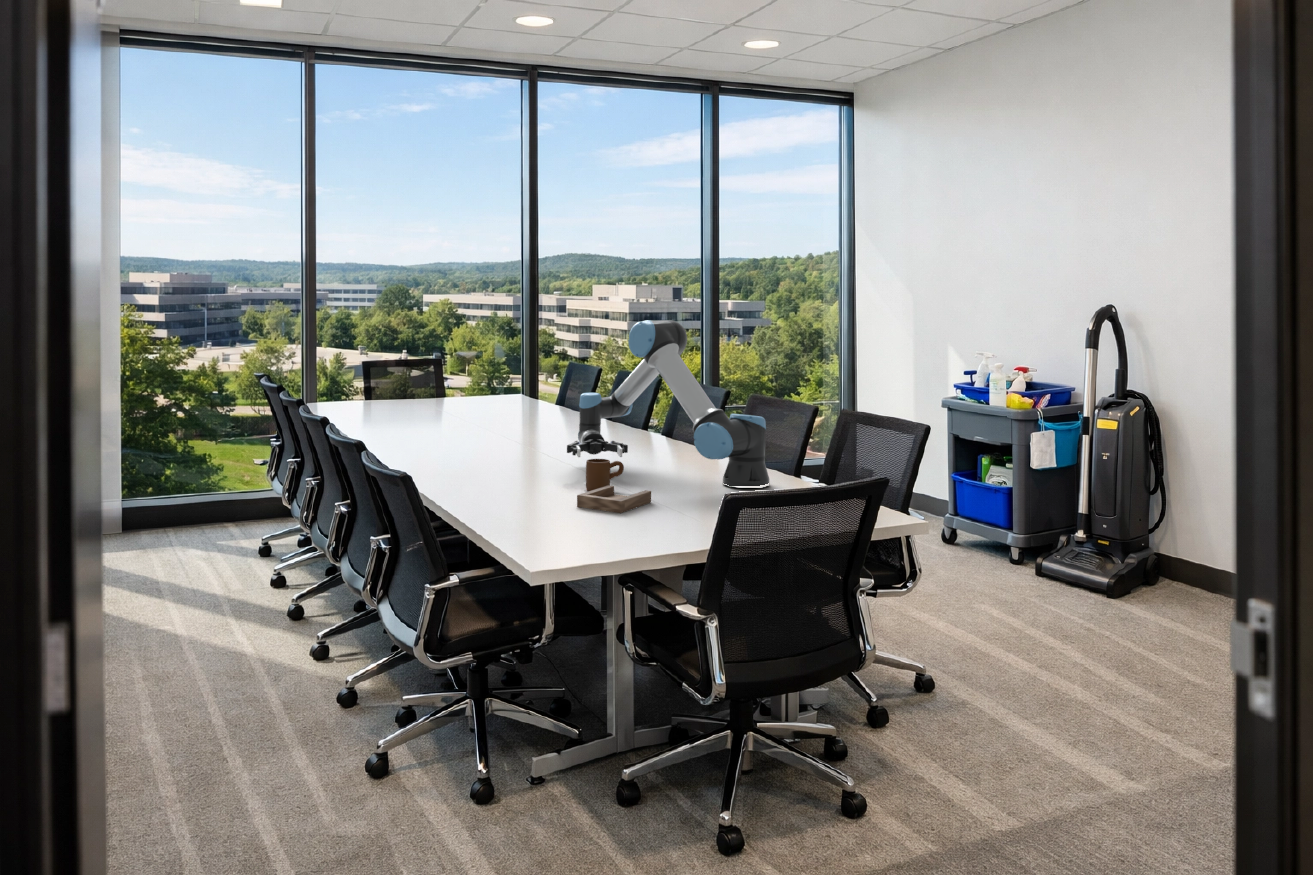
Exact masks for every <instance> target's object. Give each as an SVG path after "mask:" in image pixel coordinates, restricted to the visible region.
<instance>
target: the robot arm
mask: <svg viewBox="0 0 1313 875" xmlns="http://www.w3.org/2000/svg"><path fill="white" fill-rule="evenodd" d="M627 341H628V347H629V350H630V352H631V354H632V355H634V356H635V357H637V358H640V359H641V358H643V359H642V360H641V361H640V363H639V364H638V365H637V366H636V367H635V368H634V369H633V370H632V372H631V373H630V374H629V376H627V377H626V378H625V379H624V381H623V382H622V383H621V384H620V386H618V388H616V389H615V391H614V392H613V393H612V394H611V395H610V396H605V397H604V396H603V397H602V395H601V394H600V393H599V392H583V393H581V394H580V396H579V404H578V405H579V424H578V425H579V426H578V434H577V438H578V440H574V441H573V442H572V443H569V444H567V445H566V453H567V454H570V453H572V454H571V455H572V456H577V458H581V454H582V452H585V453H588V454H589V455H598V454H600V453H601V452H612V453H616V454H617V455H618V456H619V458H622V457H623V454H627V453H628V452H629V450H628V449H629V445H628V444H624V443H623V442H621V443H620V442H617V441H615V440H611V441H610V442H609V441H607V440H605V439H604V437H603V435H602V434H601V424H602V423H601V422H602V419H609V418H610V419H611V418H622V417H625V416H628V415H630V413H631V412H632V409H633V407H634V406H633V403H634V402H635V401H636V400H637V399H638V398H639V397H640V396H641V395H642V394H643V393H644V392H645V391H646V389H647V388H648V387H649V386H650V385H651V384H652V383H653V381H654V380H656V378H657V377H658V376H659V375H660V376H661V377H662V379H663V381H664V382H665V383H666V385H667V387H668V388H669V389H670V390H671V391H670V392H672V394H673V395H674V397H675V398H676V400H677V401H678V403H679V404H680V406H681V407H682V408H683V410H684V411H685V413H686V415H687V416H688V417H689V419H690V420H691V422H692V423H693V426H692V432H693V439H694V441H693V444H694V447H695V449H696V450H697V452H698V453H699V455H701V456H702V457H704V458H706V459H708V460H724V459H726V458H728V462H727V465H726V468H725V471H724V474H723V475H722V484H723V483H724V484H727V485H729V486H760V485H765V484H768V483H769V484H770V476H769V473H768V469H767V466H766V462H765V461H766V460H765V458H766V432H767V426H766V425H767V423H766V419H765V418H764V417H763V416H758V415H751V414H742V413H740V414H739V413H730V415H729V417H728V415H727V414H726V412H725V411H724V410H723V409H721V408H716V406H715V405H714V403H713V402H712V401H711V399H710V398H709V396H708V395H707V392H705V390H704V389H703V387H702V386H701V385H700V383H699V382H698V381H697V379H696V377H695V375H693V373H692V371H691V370H690V369H689V367H688V366H687V364H686V363H685V362H684V360H683V358H682V357H681V355H682V354H683V352H684V351H685V349H686V346H687V344H688V334H687V331H686V329H685V328H684V326H683V325H681V324H680V323H679V322H677V321H675V320H671V319H667V320H666V319H665V320H663V319H662V320H660V319H659V320H650V319H649V320H647V319H646V320H642V321H638V322H636V323H635V324H634V325H633V326H632V327H631V329H630V331H629V334H628V339H627Z"/></svg>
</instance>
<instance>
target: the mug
mask: <svg viewBox="0 0 1313 875" xmlns="http://www.w3.org/2000/svg"><path fill="white" fill-rule="evenodd" d="M616 466H618V470H616V471H612V472H611V469H612V468H614V467H616ZM624 470H625V465H624V463H623V462H622V461H620V460H619V461H618V460H615V461H612V462H611V461H610V459H607V458H590V459H587V460H586V463H585V488H586V490H587V492H589V491H592V490H595V489H598V488H602V487H605V486H608V485H610V486H611V480H613V479H614V478H615V477H616V478H617V477H620V476H621V475H622V474H623V472H624Z"/></svg>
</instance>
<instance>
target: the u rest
mask: <svg viewBox="0 0 1313 875" xmlns="http://www.w3.org/2000/svg"><path fill="white" fill-rule="evenodd" d="M650 502H651V503H652V490H648V489H646V490H641V491H639V492H636V493H633V494H630V495H623V494H617V493H615V485H611V484H610V485H608V486H605V487H602V488H598V489H595V490H592V491H585V492H582V493H579V494H577V495H576V507H577V508H582V507H583V508H584V509H587V510H588V509H589V510H596V511H602V512H609V513H616V514H623V513H626V512H630V511H631V509H632V510H635V509H637V508H639V507H643V506H645V505H648V504H651V503H650ZM636 507H637V508H636ZM583 508H582V509H583Z"/></svg>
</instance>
